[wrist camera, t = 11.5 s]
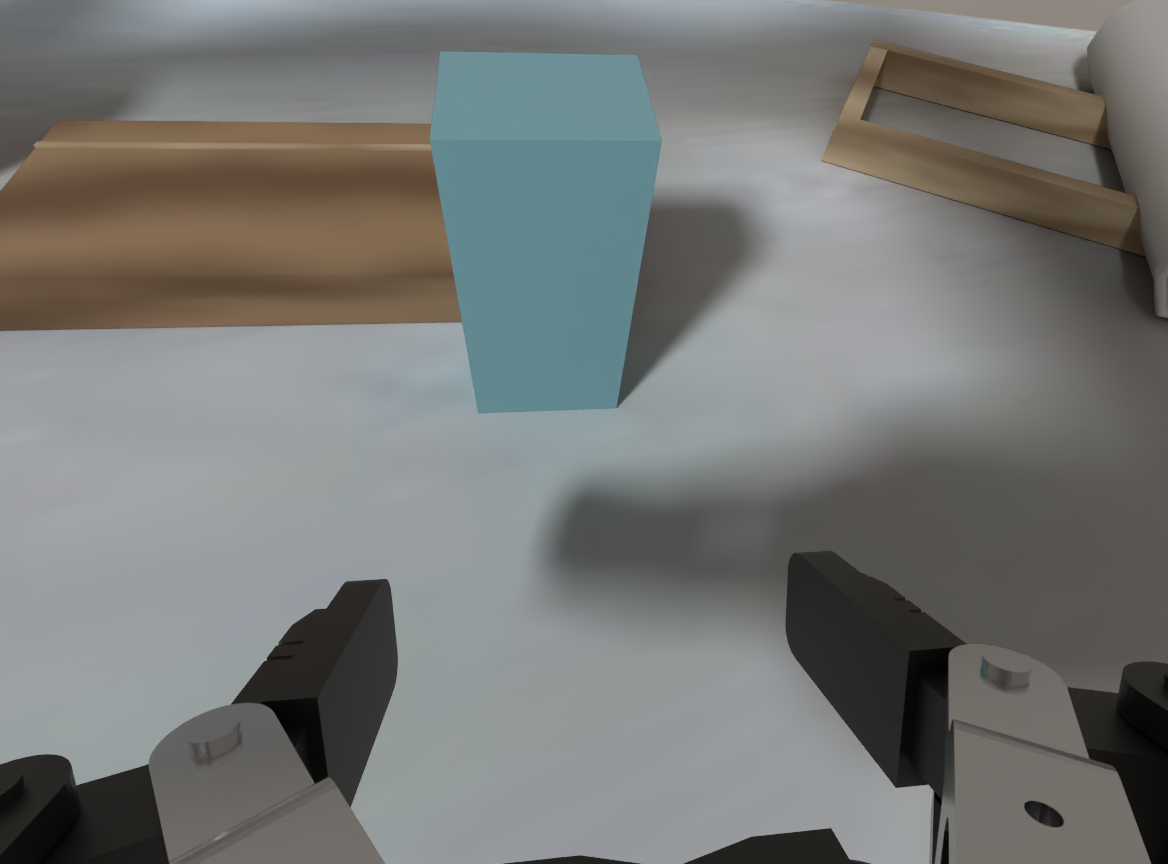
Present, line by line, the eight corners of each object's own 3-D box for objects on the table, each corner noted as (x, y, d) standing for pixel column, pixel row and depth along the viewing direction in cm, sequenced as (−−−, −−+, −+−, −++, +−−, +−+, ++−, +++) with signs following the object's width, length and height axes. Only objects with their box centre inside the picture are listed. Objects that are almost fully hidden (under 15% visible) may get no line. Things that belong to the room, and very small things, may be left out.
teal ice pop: (616, 408, 21) (661, 141, 12) (478, 413, 20) (429, 139, 12) (585, 187, 28) (601, -74, 20) (483, 187, 28) (456, -79, 19)
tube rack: (1533, 371, 24) (1606, 339, 23) (821, 160, 30) (836, 122, 29) (1444, 228, 30) (1496, 194, 28) (858, 74, 36) (873, 39, 35)
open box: (626, 318, 23) (634, 268, 21) (-10, 330, 21) (-73, 276, 19) (603, 175, 29) (607, 123, 27) (96, 173, 27) (55, 117, 25)
